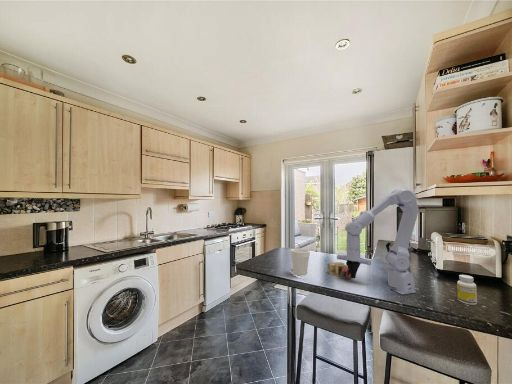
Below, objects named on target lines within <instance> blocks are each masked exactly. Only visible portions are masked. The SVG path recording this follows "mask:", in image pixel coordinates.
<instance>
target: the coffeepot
mask: <svg viewBox="0 0 512 384" xmlns="http://www.w3.org/2000/svg"><path fill="white" fill-rule="evenodd" d="M394 243H395V242H394ZM394 243H393V242H387V243H386V244H385V247H386V252H387V253H388V252H389V251H390V248H391V247H392V246H393V245H394ZM412 251H414V248H412V246H410V245H409V247H408V252H409V255H410V256H409V260H410V259H411V253H412ZM407 271H408V272H410V273H412V270H411V265H410V266H409V268H408V269H407Z"/></svg>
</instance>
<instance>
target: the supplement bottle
mask: <svg viewBox="0 0 512 384" xmlns="http://www.w3.org/2000/svg"><path fill="white" fill-rule="evenodd" d="M458 278H459V279H458V281H457V282H456V287H457V288H456V289H457V300H458V301H459V302H461V303H463V304H466V305H471V306H475V305H477V304H478V295H477V284H476V283H475V282H474V277H473V276H471V275H467V274H459V275H458Z"/></svg>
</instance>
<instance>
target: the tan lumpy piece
mask: <svg viewBox="0 0 512 384" xmlns="http://www.w3.org/2000/svg"><path fill="white" fill-rule="evenodd" d="M342 267H347V265H346V264H345V263H344V264H336V265H334V273H335V274H337V275H341V273H340V268H342Z"/></svg>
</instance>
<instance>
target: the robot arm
mask: <svg viewBox="0 0 512 384" xmlns="http://www.w3.org/2000/svg"><path fill="white" fill-rule="evenodd" d="M416 199H417V195H416V194H415V193H414V192H413V191H412V190H411V189H408V188H404V189H395V190H392V191H391V192H390V193H387V195H386V196H384V197H383V198H382V199H380V201H379V202H377V203H376V204H375V205H374V206H373V207H371V208H370V209H369V210H363V211H360V212H359V215H358V216H356V217H355V218H352V219H351V221H349V222H348V223H346V226H345V228H344V229H345V231H346V255H345V254H337V255H336V260H339V261H340V260H341V261H345V265H346V266H347V267H348V269H349V271H350V274H351V279H356V277H357V273H358V270H359V268H360V265H362V264H363V265H367V266H371V265H372V259H366V258H363V257H361V237H360V236H361V234H362V231H363V229H365V228H366V227H368V226H369V225H370V224H371V223H373V222H375V217H376V215H378V214H379V213H381V212H382V211H384V210H386V209H387V208H388V207H389V206H394V205H397V206H398V207H399V208H400V209H401V211H402V215H401V219H400V221H399V226H398V230H397V233H396V236H395V238H394V245H393V246H392V247H391V246H390V247H389V248H390V251H389V252H387V253H386V254H385V260H386V262H387V263H388V264H387V285H388V286H390V287H392V288H391V289H390V290H391V291H394V292H395V293H398V294H400V295H408V294H414V293H417V291H416V290H415V288H416V287H415V275H414V274H413V273H412V272H411V273H410V272H408V271H407V269H408V268H409V266H410V267H411V263H410V259H409V256H410V257H411V254H410V255H409V252H408V247H409V246H410V243H411V240H412V236H413V232H414V228H415V226H416V225H415V224H416V223H417V222H416V221H417V218H418V215H419V212H420V211H419V206H418V203H417V200H416Z"/></svg>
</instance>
